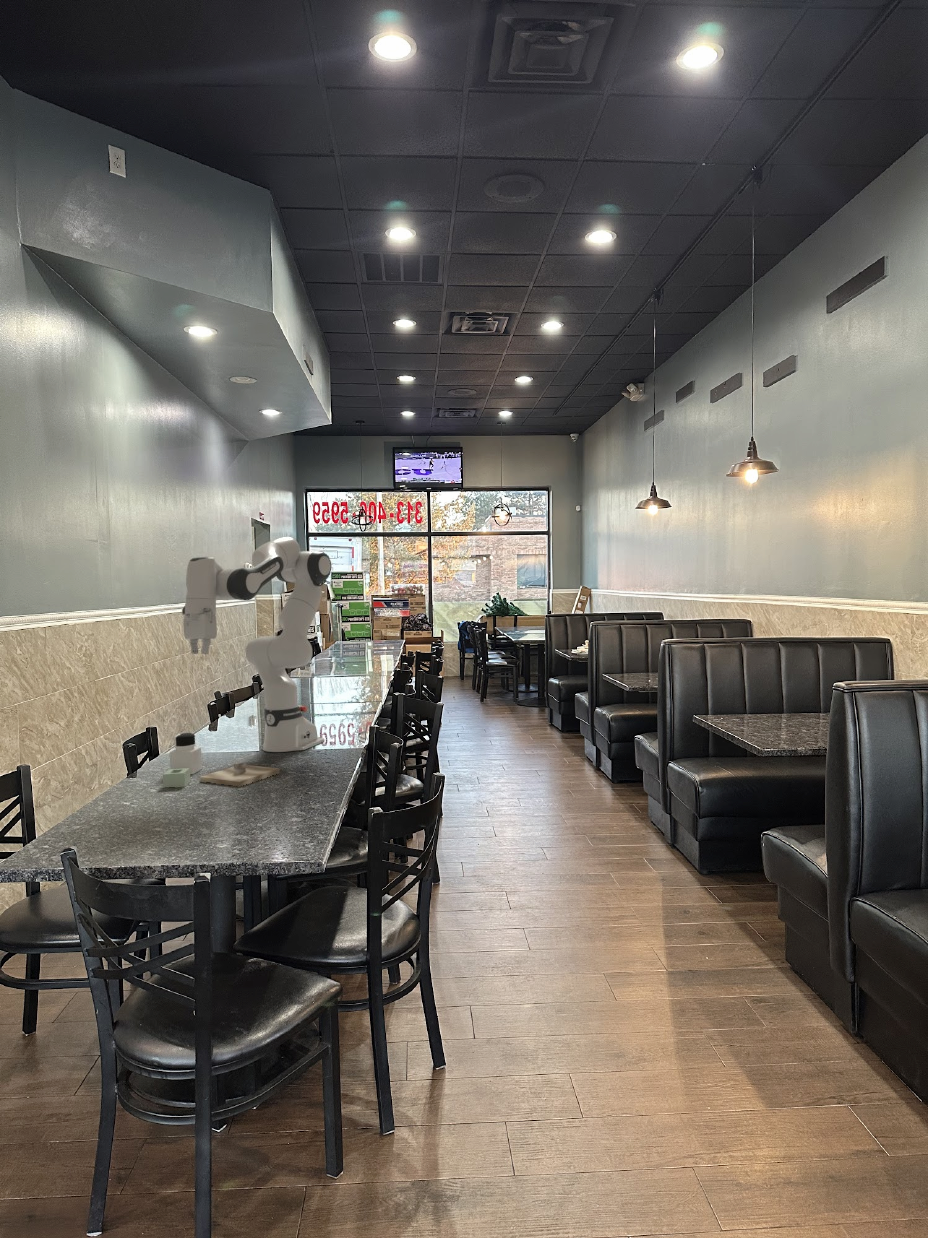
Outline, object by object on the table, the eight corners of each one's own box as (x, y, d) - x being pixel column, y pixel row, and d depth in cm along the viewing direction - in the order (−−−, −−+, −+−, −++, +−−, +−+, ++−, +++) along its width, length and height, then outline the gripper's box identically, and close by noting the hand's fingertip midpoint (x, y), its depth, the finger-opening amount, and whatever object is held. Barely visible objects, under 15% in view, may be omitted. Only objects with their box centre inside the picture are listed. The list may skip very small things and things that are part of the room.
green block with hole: (169, 782, 232) (168, 769, 232) (190, 781, 233) (189, 768, 233) (163, 788, 226) (162, 774, 226) (185, 786, 227) (184, 773, 227)
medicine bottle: (202, 769, 248) (200, 731, 248) (192, 775, 241) (190, 736, 240) (180, 769, 249) (178, 731, 248) (170, 775, 242) (167, 736, 241)
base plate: (240, 769, 246) (240, 754, 246) (279, 773, 238) (278, 758, 238) (200, 781, 232) (199, 766, 232) (239, 787, 224) (238, 771, 224)
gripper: (222, 607, 235) (221, 654, 235) (200, 610, 252) (199, 654, 251) (201, 607, 231) (200, 654, 231) (180, 609, 248) (179, 653, 247)
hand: (199, 654), depth 241 cm, fingers open, 8 cm apart
